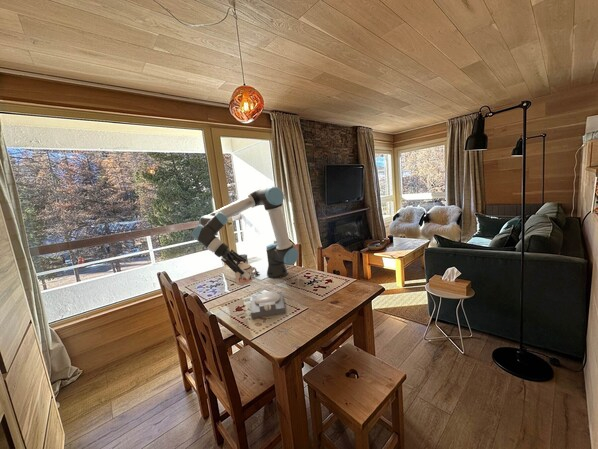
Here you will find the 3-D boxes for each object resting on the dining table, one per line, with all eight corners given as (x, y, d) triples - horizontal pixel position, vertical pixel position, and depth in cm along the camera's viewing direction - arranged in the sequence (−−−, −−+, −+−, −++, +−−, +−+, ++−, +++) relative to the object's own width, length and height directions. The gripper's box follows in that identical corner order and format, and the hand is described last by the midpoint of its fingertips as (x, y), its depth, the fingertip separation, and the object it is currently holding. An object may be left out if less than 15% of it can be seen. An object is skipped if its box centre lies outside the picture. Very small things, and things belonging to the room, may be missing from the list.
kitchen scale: (253, 301, 146) (251, 290, 145) (282, 296, 148) (281, 286, 147) (251, 318, 127) (250, 307, 126) (285, 313, 129) (284, 301, 128)
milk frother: (237, 273, 196) (234, 255, 194) (257, 270, 201) (255, 252, 198) (238, 279, 183) (235, 260, 181) (260, 275, 187) (257, 256, 185)
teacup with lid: (238, 287, 132) (235, 266, 131) (234, 282, 140) (231, 261, 138) (260, 281, 138) (257, 260, 136) (254, 276, 146) (252, 257, 144)
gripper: (221, 247, 147) (251, 271, 149) (205, 259, 126) (241, 287, 127) (229, 238, 146) (259, 262, 148) (214, 247, 125) (250, 276, 126)
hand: (251, 273), depth 137 cm, fingers closed on teacup with lid, 9 cm apart
